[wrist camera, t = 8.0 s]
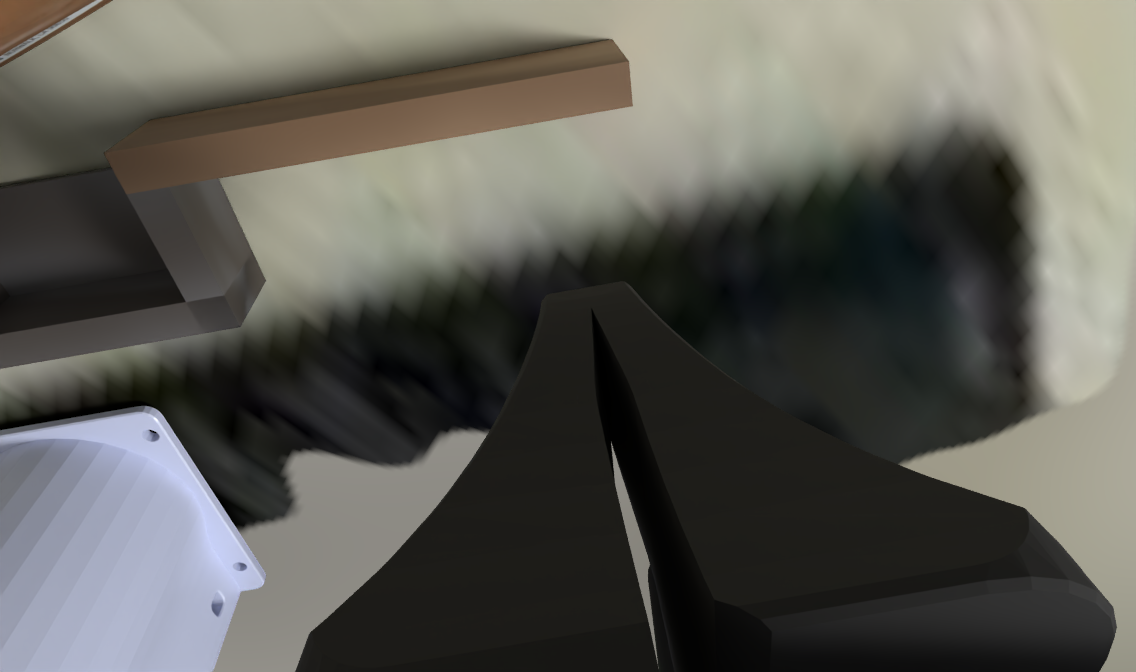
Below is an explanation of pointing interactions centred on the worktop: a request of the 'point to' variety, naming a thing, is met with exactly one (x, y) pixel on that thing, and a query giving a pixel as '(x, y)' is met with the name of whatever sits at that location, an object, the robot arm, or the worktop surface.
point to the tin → (37, 22)
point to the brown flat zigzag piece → (203, 212)
